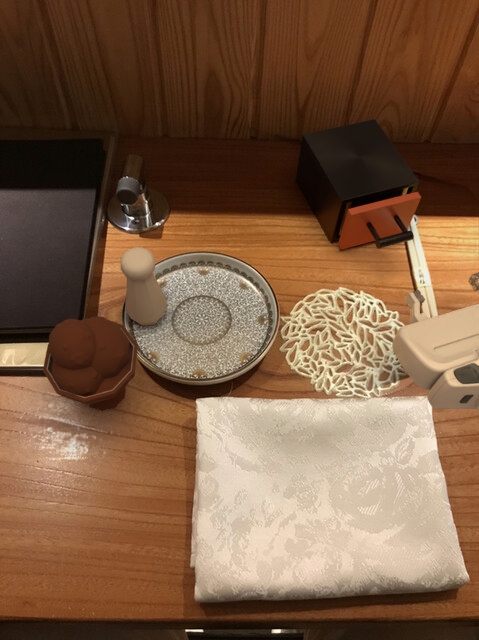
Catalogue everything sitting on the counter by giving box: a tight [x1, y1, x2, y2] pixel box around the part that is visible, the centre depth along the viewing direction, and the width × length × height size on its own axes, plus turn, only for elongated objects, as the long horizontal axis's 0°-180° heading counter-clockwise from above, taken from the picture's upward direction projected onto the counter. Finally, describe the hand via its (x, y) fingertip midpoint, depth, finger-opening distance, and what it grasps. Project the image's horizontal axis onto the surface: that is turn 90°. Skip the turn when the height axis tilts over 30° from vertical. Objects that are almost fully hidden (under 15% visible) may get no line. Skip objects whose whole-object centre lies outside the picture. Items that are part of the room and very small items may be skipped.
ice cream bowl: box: [42, 315, 139, 412], centre depth 67 cm, size 11×11×15 cm
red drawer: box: [337, 188, 422, 250], centre depth 86 cm, size 18×11×8 cm, turn 19°
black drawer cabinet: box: [295, 118, 420, 244], centre depth 89 cm, size 15×13×10 cm
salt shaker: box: [120, 246, 168, 327], centre depth 75 cm, size 6×6×13 cm
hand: (443, 284), depth 73 cm, fingers open, 8 cm apart
